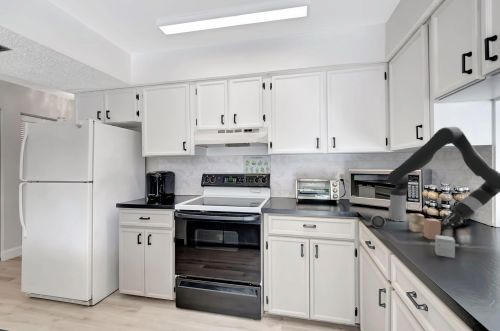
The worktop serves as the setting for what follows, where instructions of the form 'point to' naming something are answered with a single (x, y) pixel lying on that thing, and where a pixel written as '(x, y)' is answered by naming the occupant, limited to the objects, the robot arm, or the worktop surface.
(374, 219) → the ceramic mug
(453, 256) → the product box
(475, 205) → the robot arm
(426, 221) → the key two
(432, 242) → the keypad board
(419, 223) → the key one
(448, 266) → the worktop surface
